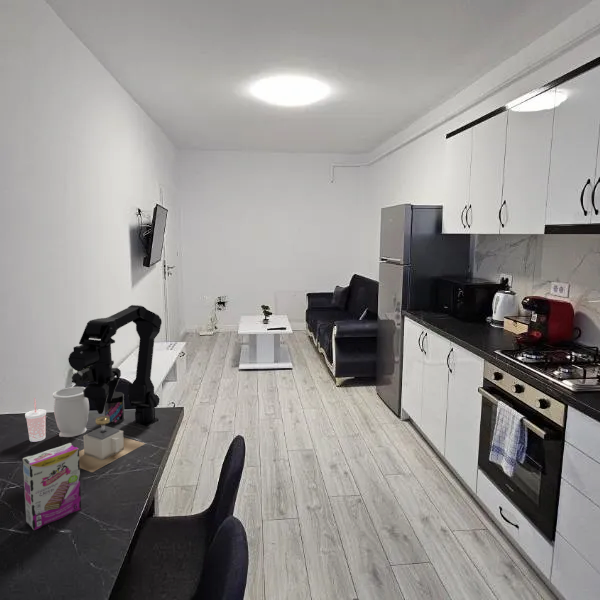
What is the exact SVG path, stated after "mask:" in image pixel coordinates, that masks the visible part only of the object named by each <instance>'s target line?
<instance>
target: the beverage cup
mask: <svg viewBox="0 0 600 600" xmlns="http://www.w3.org/2000/svg"><path fill="white" fill-rule="evenodd" d="M33 405H34V407H33V408H34V409H32V410H30V411H26V412H25V414H24V416H25V419H26V424H27V431H28V438H29V441H30V442H31V443H32V442H34V443H35V442H41V441H43V440H45V439H46V428H47V427H46V416H47V410H46V409H43V408H41V409H39V408H38V409H37V401H36V397H33Z"/></svg>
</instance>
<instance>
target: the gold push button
mask: <svg viewBox="0 0 600 600" xmlns="http://www.w3.org/2000/svg"><path fill="white" fill-rule="evenodd" d="M109 422H110V417H109V416H104V415H101V416H98V417H96V418H95V425H98V426H101V427H102V433H104V432H105V426H106V425H109V424H108V423H109Z"/></svg>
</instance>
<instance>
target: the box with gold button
mask: <svg viewBox="0 0 600 600" xmlns="http://www.w3.org/2000/svg"><path fill="white" fill-rule="evenodd" d="M82 437H83V449H84V454H85V455H88V456H91V457H94V458H97V459H100V460H104V459H106V458H108V457H110V456H112V455H114V454H116V453H118V452H120V451H122V450H123V449H124V440H123V437H124V430H120V429H118V428H114V427H111V426H109V425H108V426H107V425H105V432H104V433H102V427H99V428H96V429H94V430H92V431H90V432H87V433H86V434H84V435H83V436H82Z"/></svg>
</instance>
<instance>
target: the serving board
mask: <svg viewBox="0 0 600 600" xmlns="http://www.w3.org/2000/svg"><path fill="white" fill-rule="evenodd" d="M123 440H124V449H123V450H122V451H120V452H118V453H116V454H114V455H112V456H110V457H108V458H106V459H104V460H100V459H97V458H94V457H91V456H88V455H85V454H84V448H83V449H81V450H79V465H80V470H81V469H82V470H85V471H86V472H90V473H94V472H96V471H97V470H99V469H101V468H103V467H105V466H106V465H109V464H110V463H113V462H115V461H116V460H118V459H119V458H122V457H124V456H126V455H127V454H129V453H131V452H133V451H135V450H137V449H139V448H140V447H142V446H144V445H146V443H145V442H141V441H137V440H135V439H132V438H128V437H126V436H125V437H124V436H123Z"/></svg>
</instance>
